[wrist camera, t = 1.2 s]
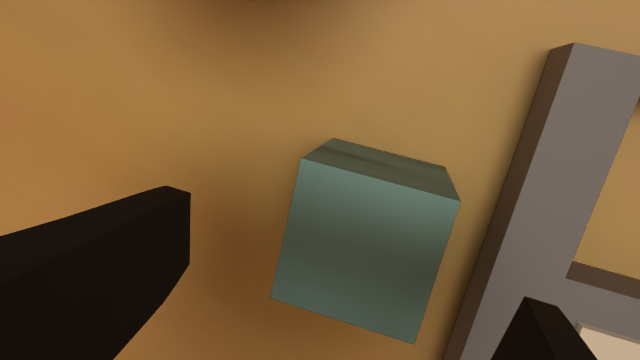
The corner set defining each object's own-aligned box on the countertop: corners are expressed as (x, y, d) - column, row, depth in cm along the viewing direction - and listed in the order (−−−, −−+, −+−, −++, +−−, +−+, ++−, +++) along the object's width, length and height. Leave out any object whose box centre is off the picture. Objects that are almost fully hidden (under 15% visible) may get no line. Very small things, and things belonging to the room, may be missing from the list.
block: (412, 270, 20) (414, 344, 14) (309, 239, 20) (270, 298, 15) (445, 166, 18) (460, 201, 13) (333, 137, 19) (301, 158, 13)
